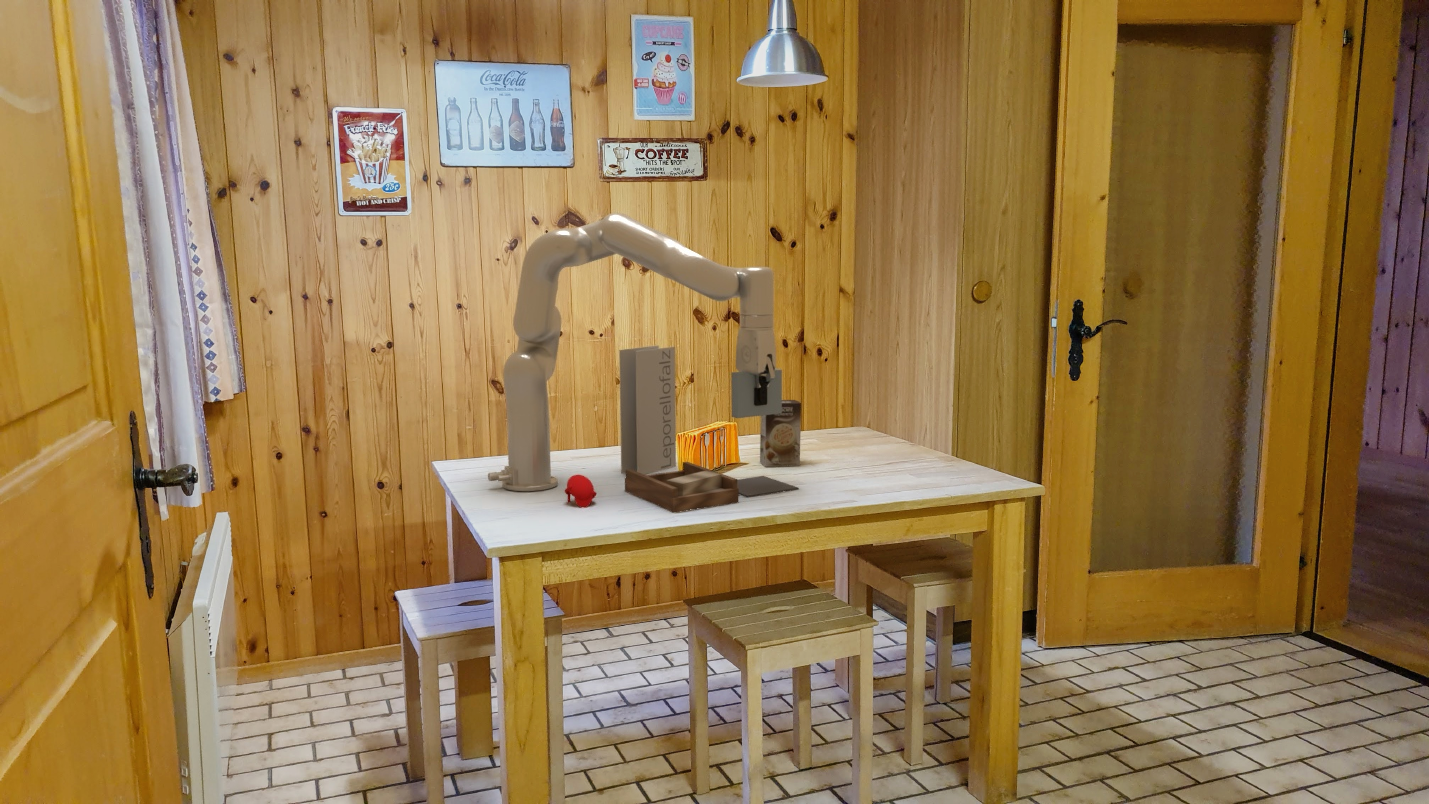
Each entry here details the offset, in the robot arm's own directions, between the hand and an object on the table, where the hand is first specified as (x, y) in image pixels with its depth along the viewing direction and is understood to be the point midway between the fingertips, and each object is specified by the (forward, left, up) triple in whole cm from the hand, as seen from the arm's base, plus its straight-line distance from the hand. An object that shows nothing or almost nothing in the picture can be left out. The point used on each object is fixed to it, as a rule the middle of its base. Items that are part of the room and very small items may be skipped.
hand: (756, 403), depth 232 cm
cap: (-40, +8, -20) cm, 45 cm away
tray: (-19, +2, -19) cm, 27 cm away
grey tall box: (-12, +29, -20) cm, 37 cm away
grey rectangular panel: (0, 0, -3) cm, 3 cm away
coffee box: (+19, +17, -20) cm, 32 cm away
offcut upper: (-19, -4, -17) cm, 26 cm away
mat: (0, 0, -19) cm, 19 cm away
